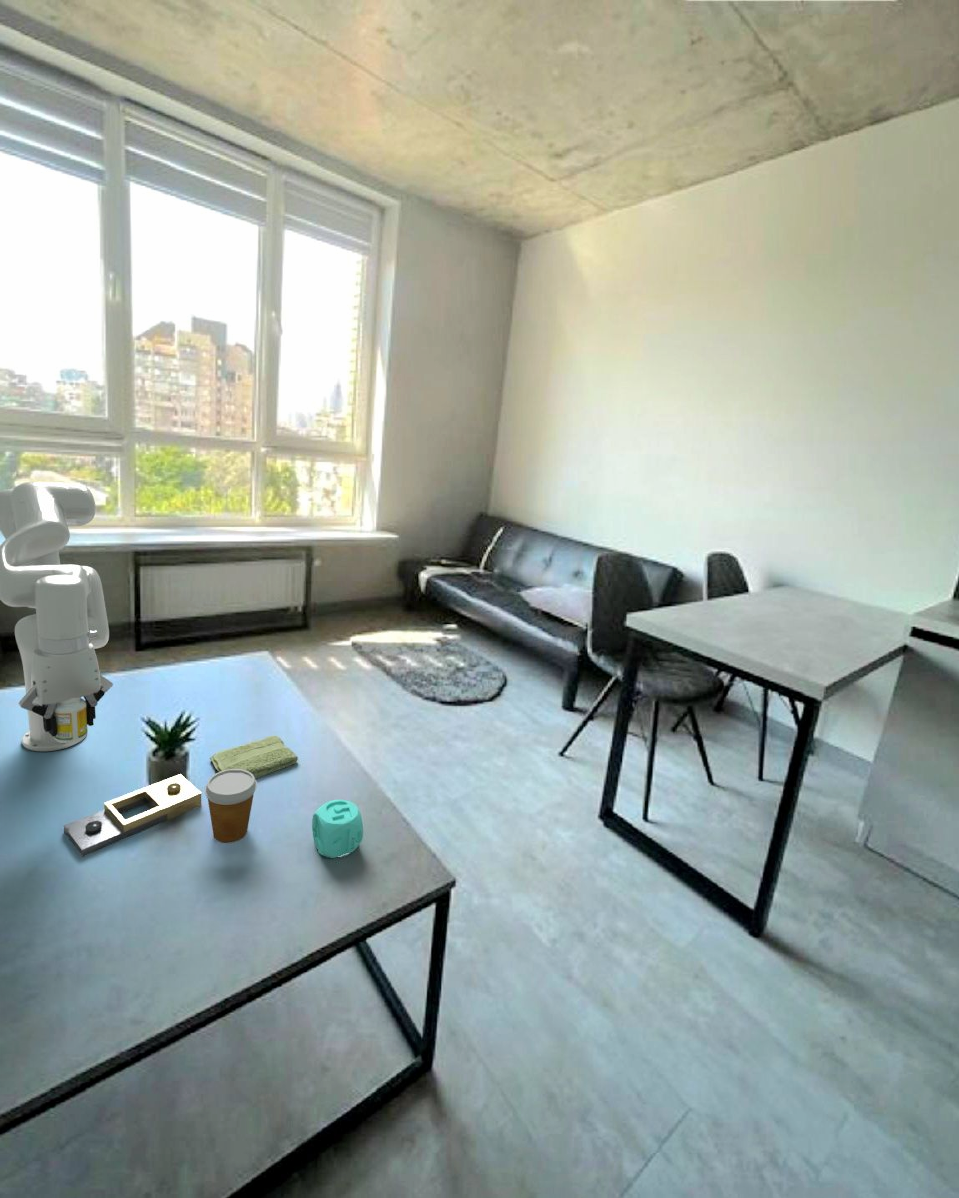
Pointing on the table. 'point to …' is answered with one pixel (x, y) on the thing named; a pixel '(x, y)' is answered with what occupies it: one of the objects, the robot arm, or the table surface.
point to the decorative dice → (337, 828)
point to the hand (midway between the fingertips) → (70, 727)
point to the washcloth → (256, 757)
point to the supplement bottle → (71, 720)
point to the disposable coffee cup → (230, 803)
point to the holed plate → (112, 827)
